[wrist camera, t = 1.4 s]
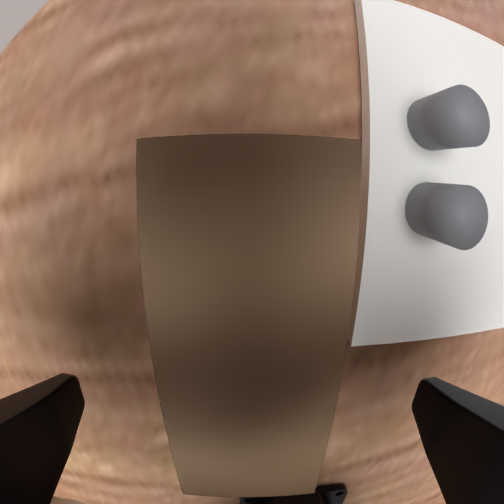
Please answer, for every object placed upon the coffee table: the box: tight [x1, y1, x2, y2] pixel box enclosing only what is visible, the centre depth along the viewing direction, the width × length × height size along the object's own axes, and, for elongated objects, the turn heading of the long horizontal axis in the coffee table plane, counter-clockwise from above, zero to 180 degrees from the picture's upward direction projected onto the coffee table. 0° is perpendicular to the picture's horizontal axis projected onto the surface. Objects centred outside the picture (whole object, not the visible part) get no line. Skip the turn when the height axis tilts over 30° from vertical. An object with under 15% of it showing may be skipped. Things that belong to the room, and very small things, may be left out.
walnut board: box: [136, 134, 361, 497], centre depth 10 cm, size 12×5×4 cm, turn 0°
